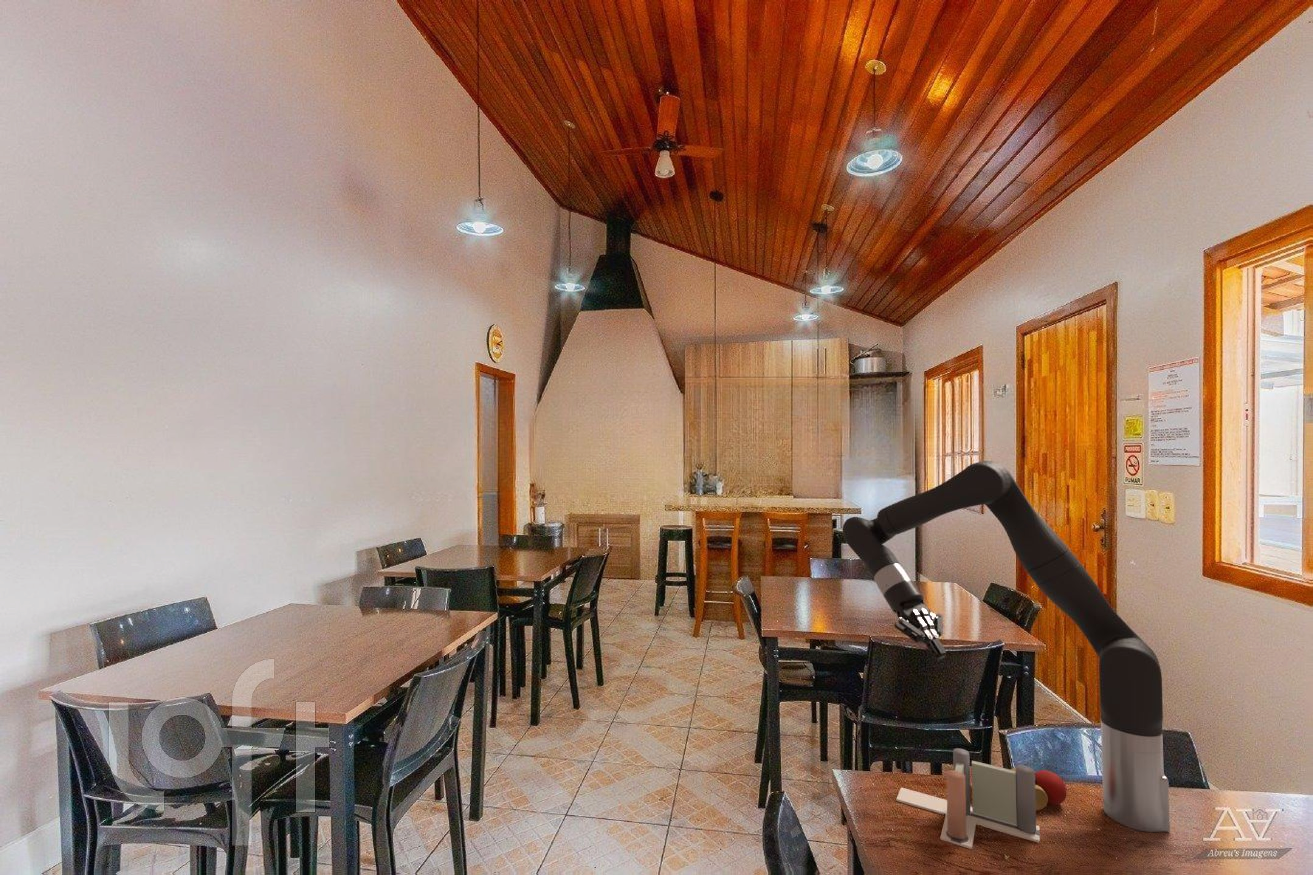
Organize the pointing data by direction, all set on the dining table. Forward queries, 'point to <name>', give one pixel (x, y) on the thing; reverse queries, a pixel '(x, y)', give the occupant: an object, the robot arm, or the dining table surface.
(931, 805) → the board
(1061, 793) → the kendama
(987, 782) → the fence fixed
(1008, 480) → the robot arm
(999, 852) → the dining table surface
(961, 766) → the gate
